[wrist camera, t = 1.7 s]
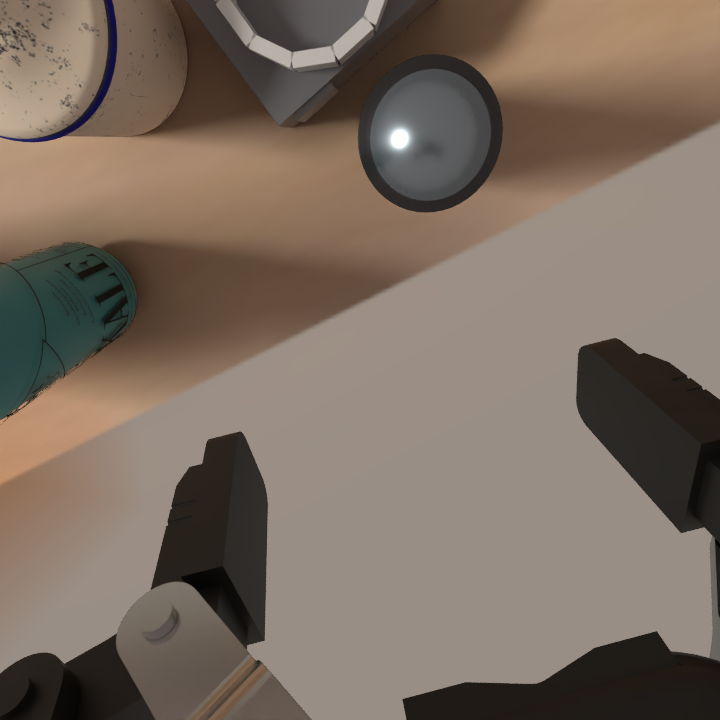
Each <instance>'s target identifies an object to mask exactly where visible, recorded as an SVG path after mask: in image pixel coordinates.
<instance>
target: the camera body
mask: <svg viewBox="0 0 720 720" xmlns="http://www.w3.org/2000/svg"><path fill="white" fill-rule="evenodd" d="M186 1H187V3H188V4H189V6H190V7H191V8H192V10H193V11H194V12H195V14H196V15H197V16H198V18H199V19H200V20H201V22H202V23H203V24H204V26H205V27H206V28H207V30H208V31H209V33H210V34H211V35H212V37H213V38H214V39H215V41H216V42H217V43H218V45H219V46H220V47H221V49H222V50H223V51H224V53H225V54H226V55H227V57H228V58H229V60H230V61H231V62H232V64H233V65H234V66H235V68H236V69H237V70H238V72H239V73H240V74H241V76H242V77H243V78H244V80H245V81H246V82H247V84H248V85H249V87H250V88H251V89H252V91H253V92H254V93H255V95H256V96H257V97H258V99H259V100H260V101H261V103H262V104H263V105H264V107H265V108H266V109H267V111H268V112H269V114H270V115H271V116H272V118H273V119H274V120H275V122H276V123H277V124H278V126H282V127H291V128H294V127H295V126H296V125H297V124H298V123H299V122H306V121H307V120H308V119H309V118H310V117H311V116H312V115H314V114H315V113H316V112H317V111H318V110H319V109H320V108H322V107H323V106H324V105H325V104H326V103H327V102H328V101H329V100H331V99H332V98H333V97H334V96H335V95H336V94H337V93H338V92H339V91H338V88H339V87H340V86H341V85H342V84H343V83H344V82H345V81H347V80H348V79H349V78H350V77H351V76H352V75H353V74H354V73H356V72H357V71H358V70H359V69H360V68H361V67H362V66H363V65H365V64H366V63H367V62H368V61H369V60H370V59H371V58H372V57H374V56H375V55H376V54H377V53H378V52H379V51H380V50H381V49H383V48H384V47H385V46H386V45H387V44H388V43H389V42H390V41H392V40H393V39H394V38H395V37H396V36H397V35H398V34H400V33H401V32H402V31H403V30H404V29H405V28H406V27H407V26H409V25H410V24H411V23H412V22H413V21H414V20H415V19H416V18H418V17H419V16H420V15H421V14H422V13H423V12H424V11H425V10H427V9H428V8H429V7H430V6H431V5H432V4H433V3H434V2H436V1H437V0H186Z"/></svg>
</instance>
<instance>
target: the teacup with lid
mask: <svg viewBox="0 0 720 720" xmlns="http://www.w3.org/2000/svg"><path fill="white" fill-rule="evenodd" d="M187 65H188V59H187V46H186V40H185V35H184V32H183V28H182V25H181V22H180V19H179V17H178V14H177V12H176V10H175V8H174V6H173V4H172V2H171V0H0V137H1V138H5V139H9V140H14V141H21V142H43V141H49V140H53V139H57V138H60V137H63V136H99V137H129V136H136V135H140V134H143V133H146V132H148V131H150V130H152V129H154V128H156V127H157V126H159V125H160V124H161V123H163V122H164V121H165V120H166V119H167V118H168V117H169V116H170V114H171V113H172V112H173V110H174V109H175V107H176V106H177V104H178V102H179V100H180V98H181V96H182V93H183V90H184V86H185V82H186V76H187Z"/></svg>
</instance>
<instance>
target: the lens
mask: <svg viewBox="0 0 720 720" xmlns="http://www.w3.org/2000/svg"><path fill="white" fill-rule="evenodd" d="M502 130H503V127H502V116H501V111H500V106H499V103H498V100H497V98H496V95H495V93H494V91H493V89H492V88H491V86H490V85H489V83H488V82H487V80H486V79H485V78H484V77H483V76H482V75H481V74H480V72H478V71H477V70H476V69H475V68H473V67H472V66H471V65H469V64H467V63H466V62H464V61H462V60H459V59H457V58H454V57H450V56H446V55H435V54H434V55H423V56H419V57H415V58H412V59H409V60H407V61H404V62H403V63H401V64H399V65H397V66H396V67H394V68H393V69H392V70H390V71H389V72H388V73H387V74H386V75H385V76H384V77H383V78H382V79H381V80H380V81H379V82H378V83H377V85H376V86H375V87H374V88H373V90H372V92H371V93H370V95H369V97H368V99H367V101H366V103H365V105H364V108H363V111H362V114H361V118H360V123H359V129H358V148H359V153H360V158H361V161H362V165H363V168H364V170H365V172H366V174H367V176H368V178H369V180H370V181H371V183H372V184H373V186H374V187H375V188H376V189H377V191H378V192H379V193H380V194H382V195H383V196H384V197H385V198H386V199H387V200H389V201H390V202H392V203H393V204H395V205H397V206H399V207H402V208H404V209H407V210H411V211H416V212H436V211H441V210H445V209H448V208H451V207H453V206H456V205H458V204H460V203H461V202H463V201H464V200H466V199H468V198H469V197H470V196H471V195H473V194H474V193H475V192H476V191H477V190H478V189H479V188H480V187H481V186H482V185H483V183H484V182H485V181H486V179H487V178H488V176H489V175H490V173H491V171H492V169H493V168H494V165H495V163H496V161H497V158H498V155H499V151H500V147H501V142H502Z"/></svg>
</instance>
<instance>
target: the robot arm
mask: <svg viewBox="0 0 720 720" xmlns="http://www.w3.org/2000/svg"><path fill="white" fill-rule="evenodd" d="M576 396H577V397H576V399H577V400H576V402H577V408H578V411H579V414H580V416H581V418H582V420H583V422H584V423H585V424H586V426H587V427H588V428H589V429H590V430H591V431H592V433H593V434H594V435H595V436H596V437H597V438H598V439H599V441H600V442H601V443H602V444H603V445H604V446H605V447H606V449H607V450H608V451H609V452H610V453H611V454H612V455H613V456H614V458H615V459H616V460H617V461H618V462H619V463H620V464H621V465H622V467H623V468H624V469H625V470H626V471H627V472H628V473H629V475H630V476H631V477H632V478H633V479H634V480H635V481H636V482H637V483H638V485H639V486H640V487H641V488H642V489H643V490H644V491H645V493H646V494H647V495H648V496H649V497H650V498H651V499H652V501H653V502H654V503H655V504H656V505H657V506H658V507H659V508H660V510H661V511H662V512H663V513H664V514H665V515H666V516H667V518H668V519H669V520H670V521H671V522H672V523H673V524H674V525H675V527H676V528H677V529H678V530H679V531H680V532H681V533H683V532H687V531H691V530H695V529H699V528H703V527H705V528H706V529H707V530H708V531H709V532H710V533H711V535H712V539H711V543H710V564H711V593H712V626H713V630H712V631H713V632H712V643H711V650H710V657H709V658H707V657H702V656H699V655H694V654H688V653H681V652H671V651H670V650H669V649H668V647H667V646H666V644H665V643H664V641H663V640H662V638H661V637H660V636H659V634H658V632H652V633H649V634H645V635H641V636H637V637H634V638H630V639H626V640H622V641H619V642H615V643H611V644H608V645H604V646H600V647H596V648H594V649H592V650H591V651H589V652H588V653H587V654H585V655H583V656H582V657H580V658H578V659H577V660H576V661H574V662H572V663H571V664H569V665H568V666H566V667H565V668H563V669H562V670H560V671H558V672H557V673H555V674H554V675H552V676H551V677H549V678H548V679H546V680H545V681H542V682H540V683H537V684H509V683H470V682H468V683H467V682H465V683H461V684H458V685H454V686H450V687H446V688H443V689H439V690H435V691H432V692H428V693H424V694H420V695H416V696H413V697H409V698H405V699H403V704H404V709H405V714H406V720H720V399H718V398H717V397H716V396H714V395H713V394H711V393H710V392H709V391H707V390H703V389H702V386H700V385H699V384H698V383H696V382H695V381H694V380H692V379H691V378H690V379H688V378H687V375H685V374H684V373H683V372H681V371H680V370H679V369H677V368H676V367H675V366H673V365H672V364H670V363H669V362H667V361H664V360H661V359H659V358H656V357H653V356H651V355H648V354H645V353H643V354H638V353H636V352H635V351H634V350H632V349H631V348H630V347H628V346H627V345H626V344H624V343H623V342H622V341H621V340H619V339H616V338H613V339H609V340H605V341H601V342H597V343H593V344H589V345H585V346H583V347H581V348H580V350H579V353H578V371H577V395H576ZM267 513H268V502H267V493H266V488H265V484H264V481H263V478H262V476H261V473H260V471H259V469H258V467H257V464H256V462H255V459H254V457H253V455H252V452H251V450H250V448H249V445H248V443H247V441H246V438H245V436H244V434H243V433H242V432H237V433H233V434H228V435H224V436H221V437H216V438H213V439H209V440H208V441H207V444H206V448H205V453H204V459H203V463H202V464H201V465H196V466H192V467H189V469H188V470H187V472H186V473H185V474H184V476H183V477H182V479H181V480H180V482H179V483H178V485H177V486H176V490H175V494H174V498H173V502H172V509H171V510H170V514H169V518H168V526H166V531H165V534H164V538H163V542H162V546H161V550H160V554H159V559H158V562H157V566H156V571H155V575H154V579H153V583H152V587H151V590H150V591H149V592H147V593H146V594H144V595H143V596H142V597H141V598H139V600H137V601H136V602H135V603H134V604H133V605H132V607H131V608H130V609H129V610H128V612H127V613H126V615H125V616H124V618H123V620H122V621H121V624H120V626H119V628H118V632H117V634H115V635H114V636H112V637H111V638H109V639H108V640H106V641H104V642H102V643H101V644H99V645H97V646H95V647H93V648H92V649H90V650H88V651H86V652H85V653H83V654H82V655H79V656H78V657H76V658H74V659H72V660H71V661H69V662H67V663H65V664H64V663H63V662H62V661H61V660H60V659H59V658H58V657H57V656H55V655H53V654H51V653H37V654H33V655H30V656H27V657H25V658H23V659H21V660H19V661H17V662H15V663H14V664H12V665H11V666H9V667H8V668H7V669H5V670H4V671H3V672H2V673H0V720H311V718H310V717H309V716H308V715H307V714H306V713H305V711H304V710H303V709H302V708H301V707H300V705H298V703H297V702H296V701H295V700H294V698H293V697H292V696H291V695H290V694H289V693H288V692H287V690H286V689H285V688H284V687H283V686H282V685H281V683H280V682H279V681H278V680H277V679H276V677H275V676H274V675H273V674H272V673H271V672H270V671H269V669H268V668H267V667H266V666H265V665H264V664H263V663H262V662H261V661H259V660H258V661H256V660H255V659H254V658H253V657H252V656H251V654H250V653H249V652H248V651H247V645H249V644H253V643H257V642H260V641H264V640H265V600H266V556H267Z"/></svg>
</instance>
